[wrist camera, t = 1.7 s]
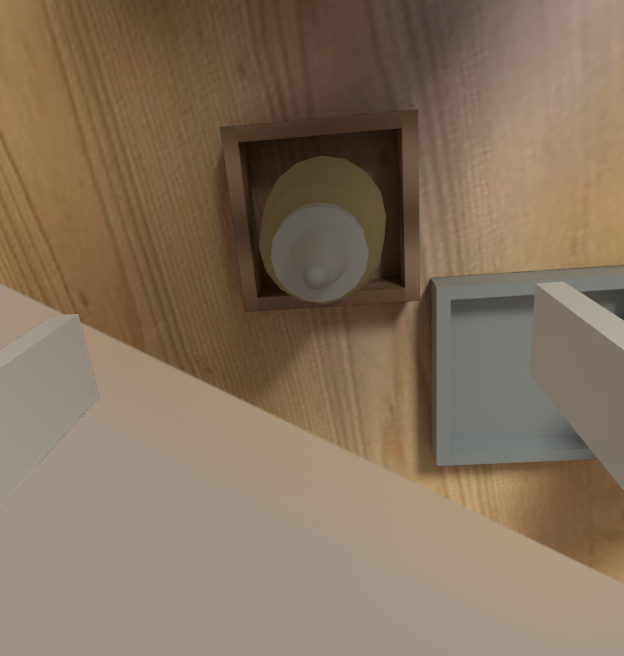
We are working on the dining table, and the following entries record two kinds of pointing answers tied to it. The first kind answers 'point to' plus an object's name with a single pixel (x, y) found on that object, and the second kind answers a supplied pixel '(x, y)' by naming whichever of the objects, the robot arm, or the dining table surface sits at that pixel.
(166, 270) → the dining table surface
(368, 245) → the squeeze bottle
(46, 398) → the robot arm
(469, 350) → the tray
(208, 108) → the dining table surface
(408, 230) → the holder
